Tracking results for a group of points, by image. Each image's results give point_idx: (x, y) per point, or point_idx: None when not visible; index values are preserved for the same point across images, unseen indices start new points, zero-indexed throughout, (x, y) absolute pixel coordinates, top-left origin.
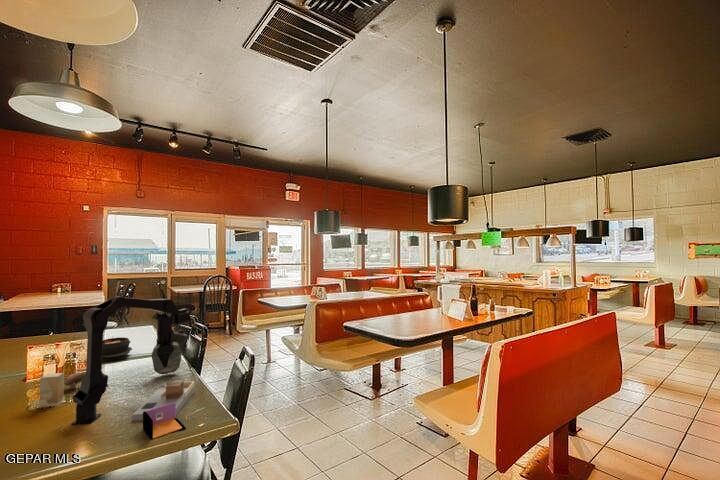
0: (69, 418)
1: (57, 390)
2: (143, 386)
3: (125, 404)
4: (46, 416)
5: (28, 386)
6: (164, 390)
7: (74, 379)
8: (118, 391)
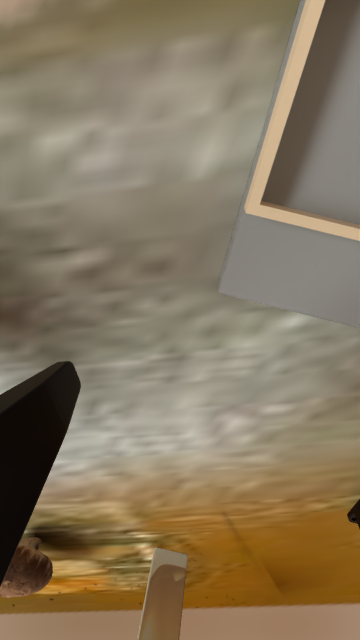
0: (315, 530)
1: (180, 623)
2: None
3: (286, 409)
4: (254, 564)
5: None
6: (290, 257)
7: (38, 580)
8: (106, 442)
